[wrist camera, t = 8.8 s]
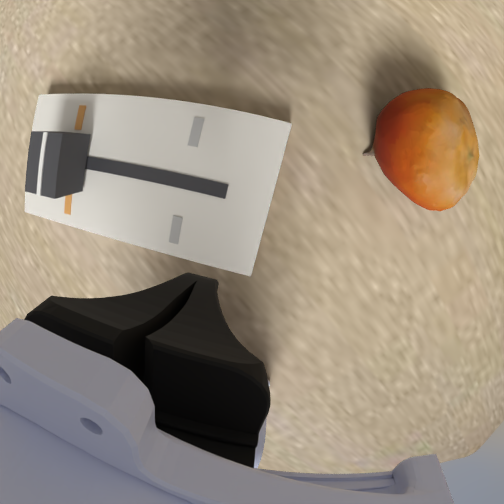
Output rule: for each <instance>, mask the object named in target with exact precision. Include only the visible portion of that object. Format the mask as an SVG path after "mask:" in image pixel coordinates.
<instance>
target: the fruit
mask: <svg viewBox="0 0 504 504" xmlns="http://www.w3.org/2000/svg"><path fill="white" fill-rule="evenodd" d="M381 110H382V109H381ZM363 154H364V156H366V155H367V156H369V155H371V156H373V155H375V158H376V160H377V162H378V164H379V166H380V167H381V169H382V171H383V173H384V175H385V176H386V177H387V178H388V179H389V180H390V181H391V183H392V184H393V185H394V186H396V187H397V188H398V189H399V190H400V191H401V192H402V193H403V194H405V195H406V196H407V197H408V198H409V199H410V200H412V201H413V202H414V203H416V204H418V205H419V206H421V207H423V208H426V209H428V210H437V211H442V210H445V209H449V208H451V207H453V206H455V205H456V203H457V202H458V201H459V200H460V199H461V197H462V196H464V195H465V194H466V193H467V191H468V189H469V187H470V185H471V183H472V181H473V180H474V178H475V176H476V173H477V166H478V160H479V149H478V140H477V136H476V132H475V128H474V125H473V122H472V119H471V116H470V113H469V111H468V109H467V107H466V106H465V104H464V103H463V102H462V101H461V100H460V99H459V98H456V96H454V95H453V94H452V93H450V92H448V91H444V90H440V89H431V88H426V89H417V90H412V91H408V92H404V93H402V94H401V95H399V96H397V97H396V98H394V99H393V100H392V101H390V102H389V103H388V104H387V105H386V106H385V107H384V108H383V110H382V111H381V112H380V114H379V115H378V117H377V121H376V133H375V138H374V142H373V146H372V149H371V151H370V152H367V153H363Z"/></svg>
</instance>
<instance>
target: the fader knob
mask: <svg viewBox="0 0 504 504" xmlns="http://www.w3.org/2000/svg"><path fill="white" fill-rule="evenodd" d="M90 137H91V134H83V133H73V132H61V131H32V132H31V138H30V145H29V152H28V161H27V171H26V184H25V191H26V192H29V193H33V194H37V195H39V196H45V197H49V198H53V199H57V198H60V197H64V196H67V195H71V194H75V193H78V192H82V191H83V183H84V175H85V168H86V161H87V154H88V148H89V142H90Z"/></svg>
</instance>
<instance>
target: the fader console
mask: <svg viewBox="0 0 504 504" xmlns="http://www.w3.org/2000/svg"><path fill="white" fill-rule="evenodd" d="M291 125H292V123H288V122H284V121H280V120H276V119H273V118H268V117H264V116H260V115H256V114H251V113H247V112H242V111H237V110H233V109H227V108H222V107H217V106H211V105H205V104H199V103H193V102H186V101H179V100H171V99H163V98H153V97H143V96H131V95H115V94H43V95H39V98H38V102H37V107H36V112H35V117H34V122H33V128H32V131H61V132H73V133H83V134H91V137H90V142H89V148H88V154H87V161H86V168H85V175H84V183H83V191H82V192H78V193H75V194H71V195H67V196H64V197H60V198H57V199H53V198H49V197H45V196H39V195H37V194H33V193H29V192H26V191H25V212H27V213H30V214H33V215H36V216H40V217H43V218H46V219H49V220H52V221H56V222H59V223H62V224H65V225H69V226H72V227H75V228H78V229H82V230H85V231H88V232H92V233H95V234H98V235H102V236H105V237H109V238H112V239H115V240H119V241H122V242H126V243H129V244H133V245H136V246H140V247H143V248H147V249H150V250H154V251H157V252H161V253H164V254H168V255H172V256H175V257H179V258H183V259H186V260H190V261H193V262H197V263H201V264H205V265H208V266H212V267H216V268H220V269H223V270H227V271H231V272H235V273H238V274H242V275H246V276H250V277H251V274H252V270H253V267H254V263H255V259H256V256H257V252H258V248H259V245H260V241H261V237H262V233H263V230H264V226H265V222H266V219H267V215H268V211H269V208H270V204H271V200H272V196H273V193H274V189H275V185H276V182H277V178H278V174H279V170H280V167H281V163H282V159H283V155H284V152H285V148H286V144H287V140H288V137H289V133H290V129H291Z"/></svg>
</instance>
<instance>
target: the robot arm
mask: <svg viewBox="0 0 504 504" xmlns="http://www.w3.org/2000/svg"><path fill="white" fill-rule="evenodd" d="M218 284H219V283H218V281H217V280H215V279H211V278H207V277H203V276H199V275H195V274H192V273H185V274H183V275H181V276H178V277H176V278H174V279H172V280H169V281H167V282H165V283H162V284H160V285H157V286H154V287H151V288H149V289H146V290H143V291H139V292H135V293H131V294H127V295H122V296H114V297H106V298H67V297H57V296H50V297H49V298H48V299H46V300H45V301H44V302H42V303H41V304H40V305H38V306H37V307H36V308H35V309H33V310H32V311H31V312H30V313H28V314H27V316H26V318H25V319H24V320H23V319H18V318H16V319H15V320H13V321H12V322H11V323H10V324H8V325H7V326H6V327H5V328H3V329H2V330H1V331H0V504H454V502H453V499H452V496H451V493H450V490H449V488H448V485H447V482H446V480H445V477H444V474H443V471H442V468H441V466H440V463H439V460H438V458H437V455H436V454H429V455H423V456H415V457H410V458H407V459H405V460H403V461H402V462H400V463H399V464H398V465H397V466H396V467H395V468H394V470H393V471H387V472H375V473H357V474H315V473H296V472H284V471H274V470H266V469H258V465H259V463H260V460H261V457H262V453H263V448H264V442H265V434H266V417H267V414H268V412H269V408H270V390H269V386H270V382H269V380H268V378H267V374H266V370H265V367H264V364H263V362H262V361H260V360H259V359H258V358H256V357H255V356H254V355H253V354H251V353H250V352H249V351H248V350H247V349H246V348H245V347H244V346H243V345H242V344H241V343H240V342H239V341H238V340H237V339H236V337H235V336H234V335H233V333H232V332H231V330H230V329H229V327H228V325H227V323H226V321H225V319H224V316H223V314H222V311H221V308H220V304H219V300H218V294H217V289H218Z"/></svg>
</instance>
